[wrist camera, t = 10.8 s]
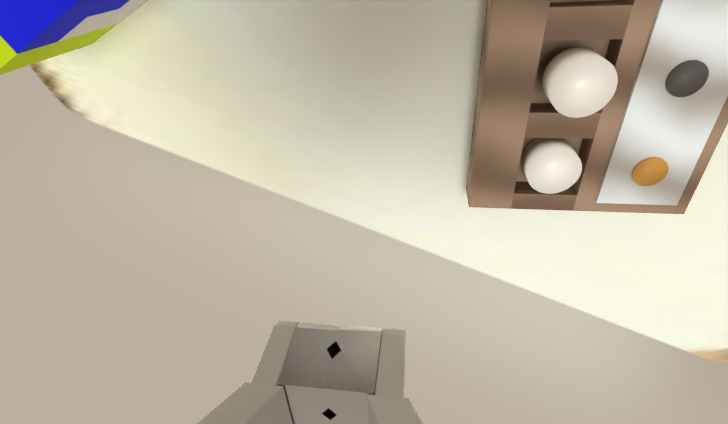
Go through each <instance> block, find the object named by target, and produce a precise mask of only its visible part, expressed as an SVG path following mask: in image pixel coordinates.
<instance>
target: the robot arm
mask: <svg viewBox="0 0 728 424" xmlns="http://www.w3.org/2000/svg"><path fill="white" fill-rule="evenodd" d="M404 374H405V330H396V329H383V328H373V327H357V326H333V325H323V324H313V323H303V322H292V321H291V322H290V321H280V320H279V321H278V322H277V323H276V325H275V326H274V328H273V330H272V333H271V335H270V338H269V340H268V343H267V346H266V348H265V351H264V353H263V356H262V358H261V361H260V363H259V366H258V368H257V371H256V374H255V376H254V378H253V381H252V383H244V384H243V385H242V386H241V387H240V388H239V389H238V390H236V391H235V392H234V393H233V394H231V395H230V396H229V397H228V398H227V399H226V400H224V401H223V402H222V403H221V404H220V405H219V406H217V407H216V408H215V409H214V410H213V411H211V412H210V414H208V415H207V416H206V417H205V418H203V419H202V420H201V421H200V422H199V423H197V424H423V423H422V421H421V419H420V418H419V416H418V414H417V412H416V411H415V409H414V407H413V405H412V404H411V402H410V400H409V398H404Z"/></svg>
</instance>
